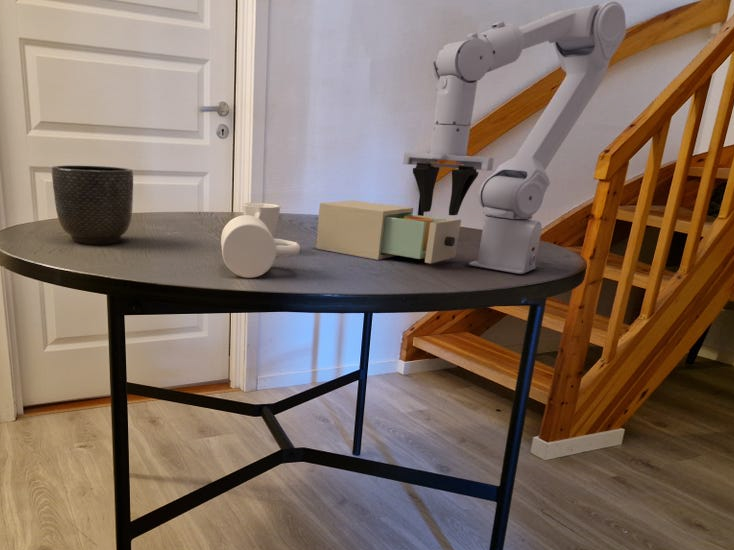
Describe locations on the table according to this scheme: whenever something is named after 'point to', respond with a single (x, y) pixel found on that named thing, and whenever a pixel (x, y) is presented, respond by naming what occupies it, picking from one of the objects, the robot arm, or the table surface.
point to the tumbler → (428, 221)
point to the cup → (263, 214)
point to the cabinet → (355, 227)
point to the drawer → (420, 237)
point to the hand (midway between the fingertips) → (439, 213)
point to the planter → (93, 202)
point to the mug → (252, 246)
